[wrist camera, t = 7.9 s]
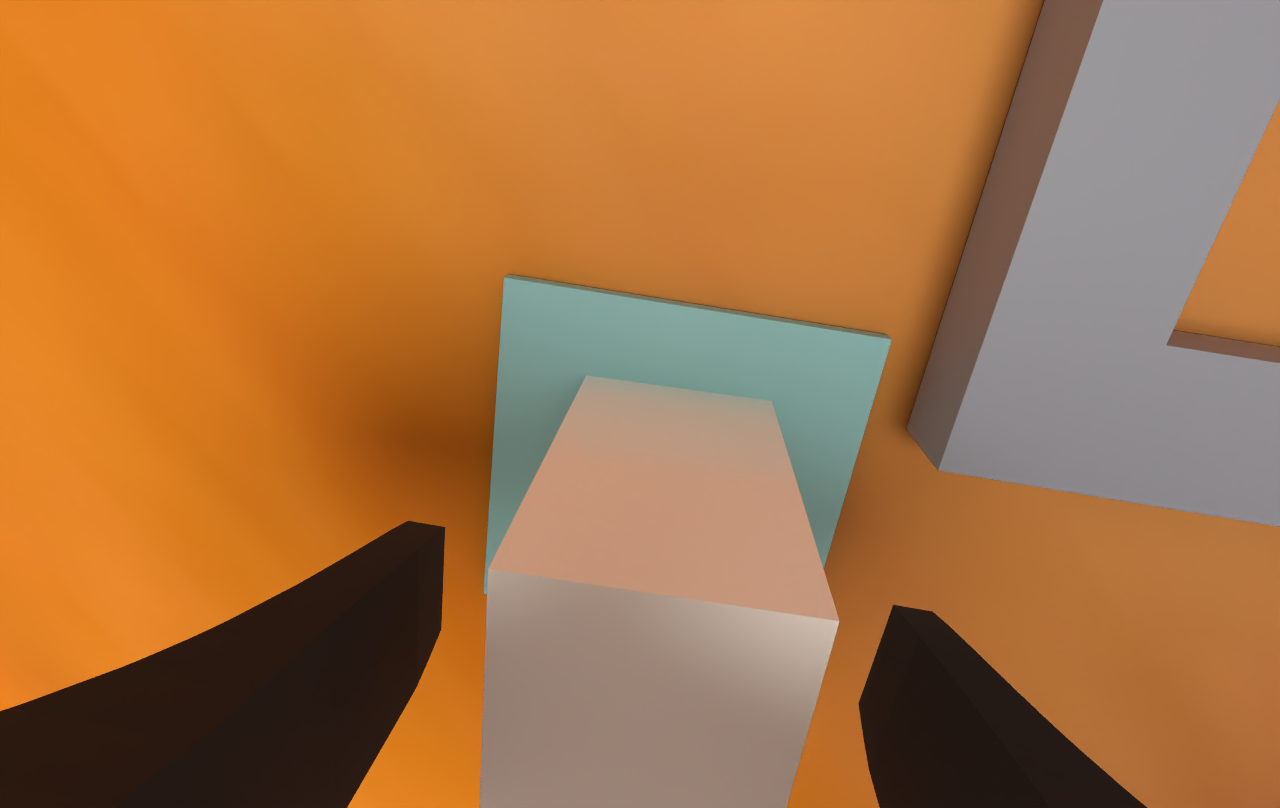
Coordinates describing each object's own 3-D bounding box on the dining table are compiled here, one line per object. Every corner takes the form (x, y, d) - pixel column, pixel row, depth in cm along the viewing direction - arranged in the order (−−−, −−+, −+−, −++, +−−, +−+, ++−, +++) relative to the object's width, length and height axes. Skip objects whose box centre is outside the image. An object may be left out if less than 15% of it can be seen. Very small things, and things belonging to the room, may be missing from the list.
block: (771, 400, 14) (839, 621, 7) (739, 558, 15) (771, 859, 9) (586, 375, 14) (487, 569, 7) (571, 533, 15) (479, 812, 9)
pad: (886, 334, 13) (891, 339, 13) (797, 637, 16) (799, 648, 16) (509, 274, 14) (503, 277, 13) (487, 584, 17) (483, 593, 16)
